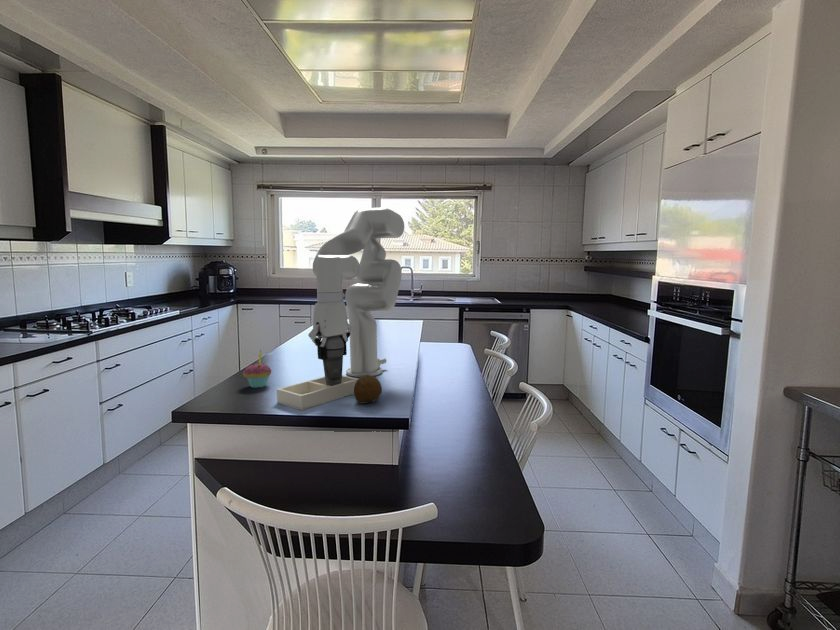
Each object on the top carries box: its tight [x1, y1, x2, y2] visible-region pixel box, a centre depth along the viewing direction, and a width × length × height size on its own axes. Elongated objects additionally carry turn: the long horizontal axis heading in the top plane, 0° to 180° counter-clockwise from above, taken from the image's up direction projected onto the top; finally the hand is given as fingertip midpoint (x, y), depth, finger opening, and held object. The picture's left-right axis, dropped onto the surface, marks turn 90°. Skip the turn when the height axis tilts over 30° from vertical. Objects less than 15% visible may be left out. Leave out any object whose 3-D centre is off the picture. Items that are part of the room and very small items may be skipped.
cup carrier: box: [276, 374, 359, 411], centre depth 139 cm, size 22×11×4 cm, turn 141°
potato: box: [353, 375, 383, 404], centre depth 134 cm, size 8×12×8 cm, turn 19°
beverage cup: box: [322, 336, 345, 386], centre depth 142 cm, size 7×7×20 cm
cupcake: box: [242, 349, 272, 389], centre depth 152 cm, size 9×8×12 cm
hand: (332, 356), depth 142 cm, fingers closed on beverage cup, 7 cm apart
